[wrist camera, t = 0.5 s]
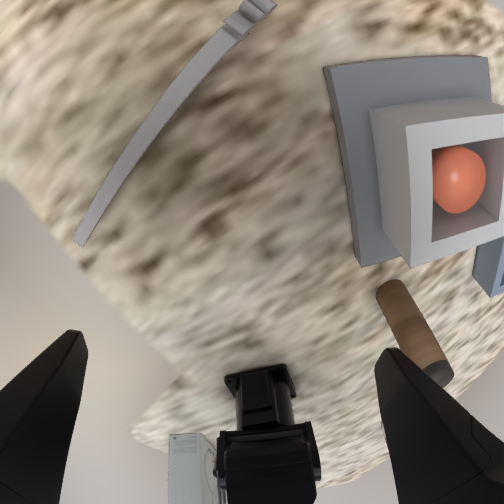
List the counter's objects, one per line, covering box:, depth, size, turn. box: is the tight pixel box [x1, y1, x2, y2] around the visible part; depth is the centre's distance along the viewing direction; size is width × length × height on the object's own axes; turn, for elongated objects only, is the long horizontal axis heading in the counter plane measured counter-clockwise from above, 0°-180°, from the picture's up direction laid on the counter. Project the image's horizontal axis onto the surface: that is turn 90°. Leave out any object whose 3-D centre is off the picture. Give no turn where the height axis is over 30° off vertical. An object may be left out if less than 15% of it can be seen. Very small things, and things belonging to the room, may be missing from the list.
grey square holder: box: [323, 55, 504, 268], centre depth 17 cm, size 14×12×6 cm
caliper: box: [73, 0, 278, 248], centre depth 16 cm, size 20×1×6 cm, turn 138°
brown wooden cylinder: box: [376, 280, 454, 388], centre depth 22 cm, size 3×3×10 cm
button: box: [431, 144, 486, 214], centre depth 16 cm, size 4×4×2 cm
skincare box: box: [168, 433, 228, 504], centre depth 38 cm, size 21×5×16 cm, turn 12°
